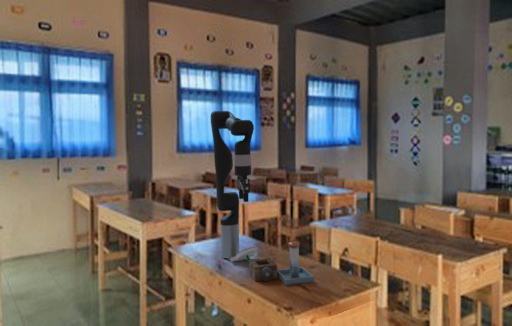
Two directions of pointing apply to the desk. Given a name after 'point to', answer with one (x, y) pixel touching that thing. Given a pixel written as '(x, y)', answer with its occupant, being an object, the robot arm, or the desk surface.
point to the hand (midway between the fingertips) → (243, 200)
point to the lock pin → (294, 259)
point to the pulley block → (263, 269)
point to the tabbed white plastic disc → (244, 254)
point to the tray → (303, 278)
